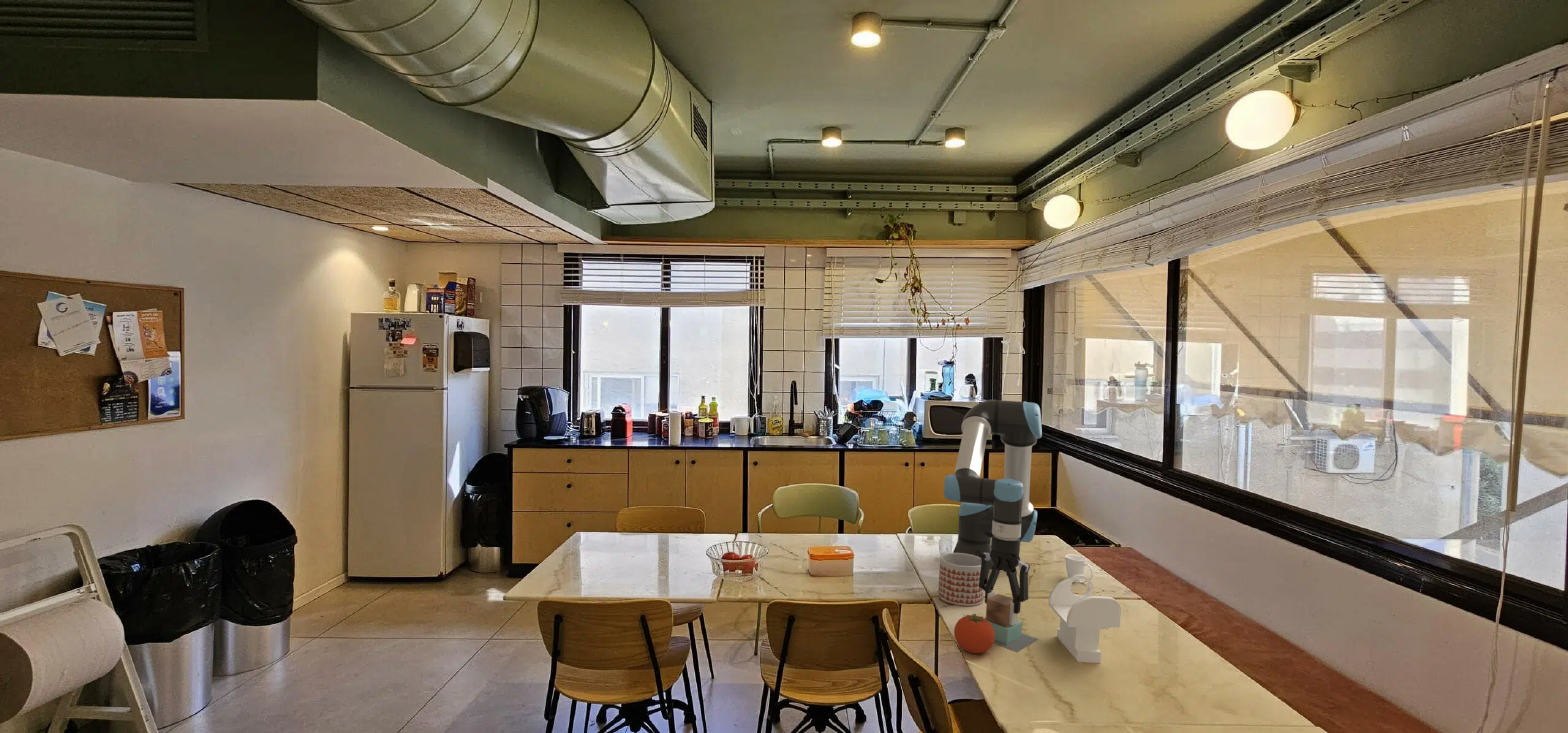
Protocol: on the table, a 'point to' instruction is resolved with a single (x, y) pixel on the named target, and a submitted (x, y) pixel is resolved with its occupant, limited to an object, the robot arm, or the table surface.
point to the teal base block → (1007, 632)
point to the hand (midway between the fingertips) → (1001, 619)
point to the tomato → (974, 634)
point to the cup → (1076, 566)
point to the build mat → (1018, 643)
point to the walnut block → (998, 610)
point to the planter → (960, 579)
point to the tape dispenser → (1083, 618)
